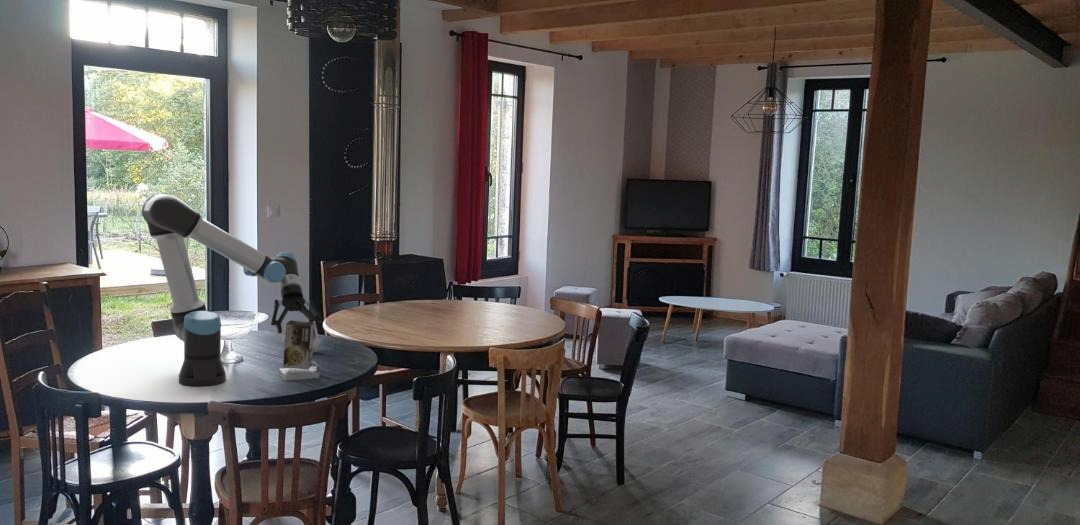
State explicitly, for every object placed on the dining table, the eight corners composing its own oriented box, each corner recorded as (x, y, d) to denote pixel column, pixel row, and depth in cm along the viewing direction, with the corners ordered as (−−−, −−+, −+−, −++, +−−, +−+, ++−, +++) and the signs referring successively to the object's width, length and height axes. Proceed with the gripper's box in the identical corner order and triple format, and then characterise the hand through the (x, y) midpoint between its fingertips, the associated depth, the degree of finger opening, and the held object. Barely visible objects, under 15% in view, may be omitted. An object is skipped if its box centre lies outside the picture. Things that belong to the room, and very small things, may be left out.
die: (314, 350, 347) (299, 332, 345) (327, 343, 342) (313, 324, 340) (303, 361, 340) (288, 342, 338) (317, 354, 335) (302, 335, 333)
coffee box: (312, 365, 306) (315, 322, 304) (308, 370, 300) (311, 325, 298) (286, 363, 306) (290, 319, 304) (282, 367, 299) (285, 323, 297)
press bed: (284, 380, 296) (285, 368, 296) (278, 374, 305) (279, 362, 304) (319, 378, 302) (319, 366, 301) (312, 371, 311) (312, 359, 310)
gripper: (260, 284, 304) (268, 335, 292) (324, 282, 315) (334, 331, 304) (257, 296, 309) (265, 346, 298) (320, 294, 321) (330, 342, 309)
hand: (300, 339), depth 301 cm, fingers closed on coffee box, 11 cm apart
